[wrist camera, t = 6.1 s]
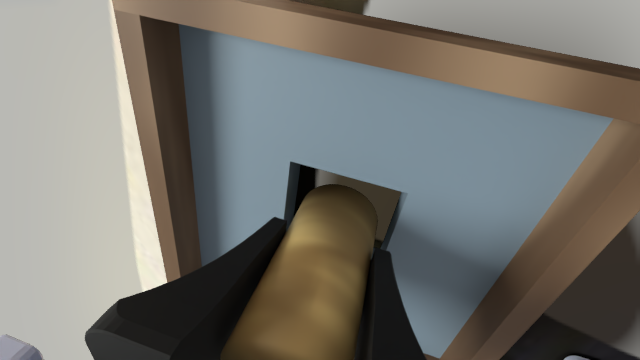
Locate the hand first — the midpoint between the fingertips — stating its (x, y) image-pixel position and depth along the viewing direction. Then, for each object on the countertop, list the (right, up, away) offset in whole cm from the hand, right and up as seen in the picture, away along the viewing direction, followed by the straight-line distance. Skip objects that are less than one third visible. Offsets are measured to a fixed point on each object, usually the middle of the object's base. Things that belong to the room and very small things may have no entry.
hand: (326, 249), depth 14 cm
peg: (+1, +1, +2) cm, 3 cm away
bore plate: (+1, +2, +3) cm, 4 cm away
